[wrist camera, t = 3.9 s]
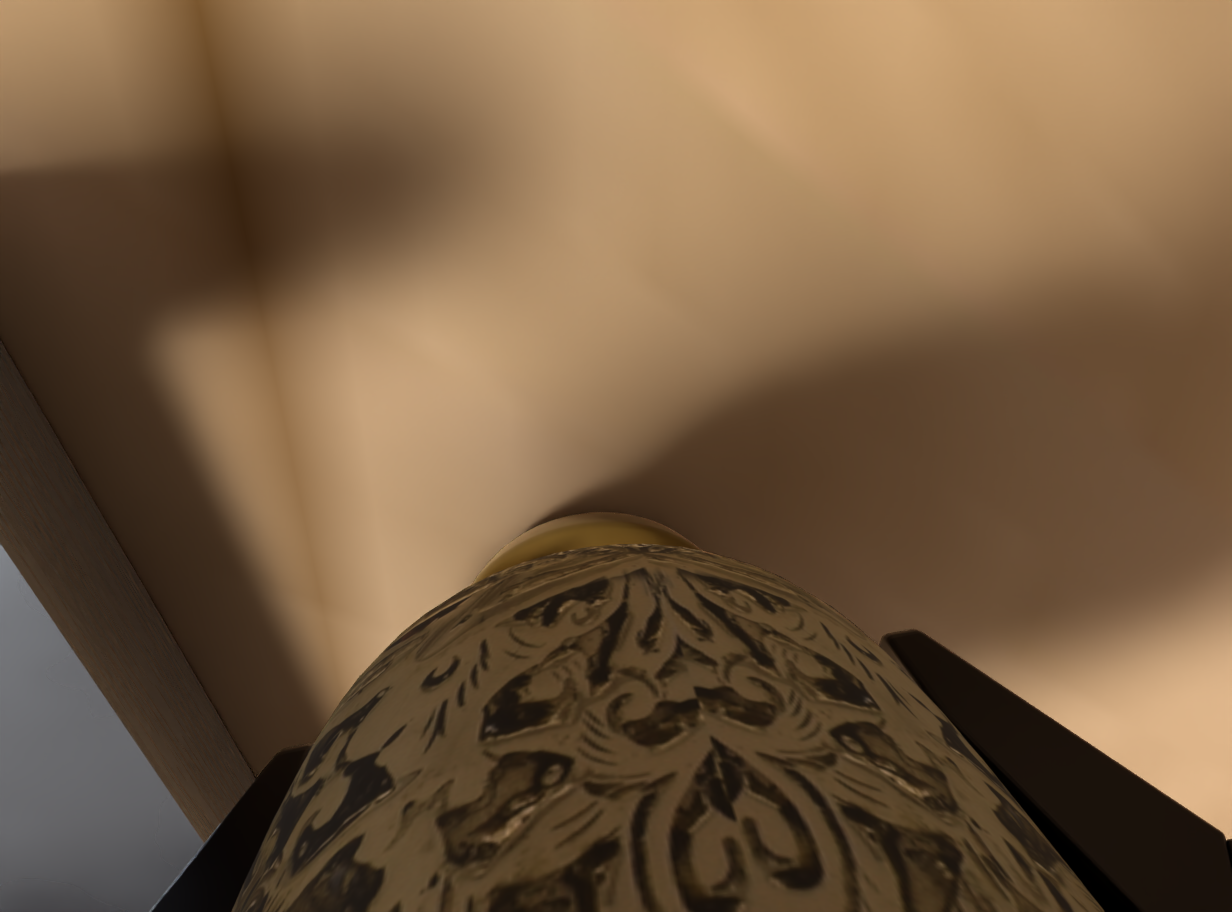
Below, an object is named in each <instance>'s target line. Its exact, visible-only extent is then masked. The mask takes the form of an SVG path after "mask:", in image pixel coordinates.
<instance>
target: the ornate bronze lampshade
mask: <svg viewBox="0 0 1232 912" xmlns="http://www.w3.org/2000/svg"><path fill="white" fill-rule="evenodd" d="M231 912H1105V911H1104V910H1103V909H1102V907H1101V906H1100V905H1099V904H1098V902H1097V901H1096V900H1095V898H1094V897H1093V896H1092V895H1091V893H1090V892H1089V891H1088V890H1087V888H1086V887H1085V886H1084V885H1083V883H1082V882H1081V881H1080V880H1079V878H1078V877H1077V876H1076V875H1075V873H1074V872H1073V871H1072V870H1071V868H1070V867H1069V866H1068V865H1067V863H1066V862H1065V861H1064V860H1063V858H1062V857H1061V856H1060V855H1059V853H1058V852H1057V851H1056V850H1055V848H1054V847H1053V846H1052V845H1051V843H1050V842H1049V841H1048V840H1047V838H1046V837H1045V836H1044V835H1043V833H1042V832H1041V831H1040V830H1039V828H1038V827H1037V826H1036V825H1035V823H1034V822H1033V821H1032V820H1031V818H1030V817H1029V816H1028V815H1027V814H1026V812H1025V811H1024V810H1023V809H1022V807H1021V806H1020V805H1019V804H1018V802H1017V801H1016V800H1015V799H1014V797H1013V796H1012V795H1011V794H1010V792H1009V791H1008V790H1007V789H1006V788H1005V786H1004V785H1003V784H1002V783H1001V781H1000V780H999V779H998V778H997V776H996V775H995V774H994V773H993V771H992V770H991V769H990V768H989V767H988V765H987V764H986V763H985V762H984V760H983V759H982V758H981V757H980V756H979V755H978V753H977V752H976V751H975V750H974V749H973V747H972V746H971V745H970V744H969V743H968V742H967V740H966V739H965V738H964V737H963V736H962V735H961V733H960V732H959V731H958V730H957V729H956V727H955V726H954V725H953V724H952V723H951V722H950V720H949V719H948V718H947V717H946V716H945V715H944V713H943V712H942V711H941V710H940V709H939V708H938V707H937V706H936V705H935V704H934V703H933V701H932V700H931V699H930V698H929V697H928V696H927V695H926V694H925V693H924V692H923V691H922V690H921V689H920V688H919V687H918V685H917V684H916V683H915V682H914V681H913V680H912V679H911V678H910V677H909V676H908V675H907V674H906V673H905V672H904V671H903V670H902V669H901V667H900V666H899V665H898V664H897V663H896V662H895V661H894V660H893V659H892V658H891V657H890V656H889V655H888V654H887V653H886V652H885V651H884V650H883V649H882V648H880V647H879V646H878V645H877V644H876V643H875V642H874V641H873V640H871V639H870V638H869V637H868V636H867V635H866V634H865V633H864V632H862V631H861V630H860V629H859V628H858V627H857V626H856V625H855V624H853V623H852V622H851V621H850V620H848V619H847V618H846V617H844V616H843V615H842V614H840V613H839V612H838V611H836V610H835V609H834V608H833V607H831V606H830V605H828V604H826V603H825V602H823V601H821V600H820V599H818V598H816V597H815V596H813V595H811V594H810V593H808V592H806V591H805V590H803V589H801V588H799V587H798V586H796V585H794V584H793V583H791V582H789V581H787V580H786V579H784V578H782V577H780V576H778V575H775V574H773V573H771V572H768V571H766V570H764V569H761V568H759V567H756V566H754V565H751V564H747V563H744V562H741V561H737V560H734V559H730V558H727V557H724V556H720V555H717V554H713V553H710V552H705V551H702V550H701V549H700V548H699V547H697V546H696V545H695V544H693V543H692V542H691V541H689V540H688V539H686V538H685V537H684V536H682V535H681V534H679V533H677V532H676V531H674V530H672V529H670V528H669V527H667V526H665V525H662V524H660V523H658V522H655V521H653V520H650V519H647V518H643V517H640V516H635V515H630V514H625V513H615V512H590V513H580V514H574V515H569V516H565V517H561V518H558V519H554V520H551V521H549V522H546V523H543V524H541V525H538V526H536V527H534V528H532V529H530V530H528V531H526V532H525V533H523V534H522V535H520V536H518V537H517V538H515V539H514V540H512V541H511V542H510V543H509V544H507V545H506V546H505V547H504V548H502V549H501V550H500V551H499V552H498V553H497V554H496V555H495V556H494V557H493V558H492V559H491V560H490V561H489V562H488V563H487V565H486V566H485V567H484V569H483V570H482V571H481V572H480V574H479V575H478V576H477V577H476V579H475V580H474V581H473V583H472V584H471V586H469V587H467V588H465V589H464V590H462V591H461V592H459V593H457V594H456V595H454V596H453V597H451V598H450V599H448V600H446V601H445V602H443V603H442V604H440V605H439V606H437V607H435V608H434V609H432V610H431V611H429V612H428V613H426V614H425V615H423V616H422V617H421V618H420V619H418V620H417V621H416V622H415V623H413V624H412V625H411V626H410V627H408V628H407V629H406V630H405V631H403V632H402V633H401V634H400V635H399V636H398V637H397V638H396V639H395V640H394V641H393V642H392V643H391V644H390V645H389V646H388V647H387V648H386V649H385V650H384V651H383V652H382V653H381V654H380V655H379V657H378V658H377V659H376V660H375V661H374V662H373V663H372V664H371V665H370V666H369V667H368V668H367V669H366V670H365V672H364V673H363V674H362V675H361V676H360V677H359V678H358V679H357V681H356V682H355V683H354V685H353V686H352V687H351V689H350V690H349V691H348V693H347V694H346V695H345V696H344V698H343V699H342V700H341V702H340V703H339V705H338V706H337V708H336V710H335V711H334V713H333V714H332V716H331V717H330V719H329V720H328V722H327V723H326V725H325V727H324V728H323V730H322V731H321V733H320V734H319V736H318V737H317V739H316V741H315V742H314V744H313V746H312V748H311V750H310V751H309V753H308V755H307V757H306V759H305V760H304V762H303V764H302V766H301V768H300V770H299V772H298V773H297V775H296V777H295V779H294V781H293V783H292V785H291V787H290V789H289V791H288V793H287V794H286V796H285V798H284V800H283V802H282V804H281V806H280V808H279V810H278V812H277V813H276V815H275V817H274V819H273V821H272V824H271V826H270V828H269V830H268V832H267V834H266V836H265V839H264V841H263V843H262V845H261V847H260V849H259V852H258V854H257V856H256V858H255V860H254V862H253V864H252V867H251V869H250V871H249V873H248V875H247V877H246V879H245V882H244V884H243V886H242V888H241V891H240V893H239V895H238V898H237V900H236V902H235V904H234V907H233V909H232V911H231Z"/></svg>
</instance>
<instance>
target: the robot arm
mask: <svg viewBox="0 0 1232 912" xmlns="http://www.w3.org/2000/svg"><path fill="white" fill-rule="evenodd" d="M880 648H882V649H883V650H884V651H885V652H886V653H887V654H888V655H889V656H890V657H891V658H892V659H893V660H894V661H895V662H896V663H897V664H898V665H899V666H900V667H901V669H902V670H903V671H904V672H905V673H906V674H907V675H908V676H909V677H910V678H911V679H912V680H913V681H914V682H915V683H916V684H917V685H918V687H919V688H920V689H921V690H922V691H923V692H924V693H925V694H926V695H927V696H928V697H929V698H930V699H931V700H932V701H933V703H934V704H935V705H936V706H937V707H938V708H939V709H940V710H941V711H942V712H943V713H944V715H945V716H946V717H947V718H948V719H949V720H950V722H951V723H952V724H953V725H954V726H955V727H956V729H957V730H958V731H959V732H960V733H961V735H962V736H963V737H964V738H965V739H966V740H967V742H968V743H969V744H970V745H971V746H972V747H973V749H974V750H975V751H976V752H977V753H978V755H979V756H980V757H981V758H982V759H983V760H984V762H985V763H986V764H987V765H988V767H989V768H990V769H991V770H992V771H993V773H994V774H995V775H996V776H997V778H998V779H999V780H1000V781H1001V783H1002V784H1003V785H1004V786H1005V788H1006V789H1007V790H1008V791H1009V792H1010V794H1011V795H1012V796H1013V797H1014V799H1015V800H1016V801H1017V802H1018V804H1019V805H1020V806H1021V807H1022V809H1023V810H1024V811H1025V812H1026V814H1027V815H1028V816H1029V817H1030V818H1031V820H1032V821H1033V822H1034V823H1035V825H1036V826H1037V827H1038V828H1039V830H1040V831H1041V832H1042V833H1043V835H1044V836H1045V837H1046V838H1047V840H1048V841H1049V842H1050V843H1051V845H1052V846H1053V847H1054V848H1055V850H1056V851H1057V852H1058V853H1059V855H1060V856H1061V857H1062V858H1063V860H1064V861H1065V862H1066V863H1067V865H1068V866H1069V867H1070V868H1071V870H1072V871H1073V872H1074V873H1075V875H1076V876H1077V877H1078V878H1079V880H1080V881H1081V882H1082V883H1083V885H1084V886H1085V887H1086V888H1087V890H1088V891H1089V892H1090V893H1091V895H1092V896H1093V897H1094V898H1095V900H1096V901H1097V902H1098V904H1099V905H1100V906H1101V907H1102V909H1103V910H1104V911H1105V912H1232V839H1228V840H1226V838H1225V835H1224V834H1223V833H1222V832H1221V831H1220V830H1218V829H1217V828H1215V827H1214V826H1212V825H1211V824H1209V823H1208V822H1206V821H1205V820H1203V819H1202V818H1200V817H1199V816H1197V815H1196V814H1194V813H1193V812H1191V811H1190V810H1188V809H1187V808H1185V807H1184V806H1182V805H1181V804H1179V803H1178V802H1176V801H1175V800H1173V799H1172V798H1170V797H1169V796H1167V795H1166V794H1164V793H1163V792H1161V791H1160V790H1158V789H1157V788H1155V787H1154V786H1152V785H1151V784H1149V783H1148V782H1146V781H1145V780H1143V779H1142V778H1140V777H1139V776H1137V775H1136V774H1134V773H1133V772H1131V771H1130V770H1128V769H1127V768H1125V767H1124V766H1122V765H1121V764H1119V763H1118V762H1116V761H1115V760H1113V759H1112V758H1110V757H1109V756H1107V755H1106V754H1104V753H1103V752H1101V751H1100V750H1098V749H1097V748H1095V747H1094V746H1092V745H1091V744H1089V743H1088V742H1086V741H1085V740H1083V739H1082V738H1080V737H1079V736H1077V735H1076V734H1074V733H1073V732H1071V731H1070V730H1068V729H1067V728H1065V727H1064V726H1062V725H1061V724H1059V723H1058V722H1056V721H1055V720H1053V719H1052V718H1050V717H1049V716H1047V715H1046V714H1044V713H1043V712H1041V711H1040V710H1038V709H1037V708H1035V707H1034V706H1032V705H1031V704H1029V703H1028V702H1026V701H1025V700H1023V699H1022V698H1020V697H1019V696H1017V695H1016V694H1014V693H1013V692H1011V691H1010V690H1008V689H1007V688H1005V687H1004V686H1002V685H1001V684H999V683H998V682H996V681H995V680H993V679H992V678H990V677H989V676H987V675H986V674H984V673H983V672H981V671H980V670H978V669H977V668H975V667H974V666H972V665H971V664H969V663H968V662H966V661H965V660H963V659H962V658H960V657H959V656H957V655H956V654H954V653H953V652H951V651H950V650H948V649H947V648H946V647H944V646H943V645H941V644H940V643H938V642H937V641H935V640H934V639H932V638H931V637H929V636H928V635H926V634H925V633H923V632H921V631H919V630H915V629H910V630H904V631H899V632H894V633H888V634H886V635H884V636H883V637H882V639H881V641H880ZM313 744H314V743H309V744H304V745H298V746H293V747H288V748H285V749H283V750H281V751H280V752H278V753H277V754H276V755H275V756H274V757H273V759H272V760H271V761H270V762H269V764H268V765H267V766H266V767H265V769H264V770H263V771H262V772H261V774H260V775H259V776H258V777H257V779H256V780H255V781H254V782H253V783H252V785H251V786H250V787H249V788H248V790H247V791H246V792H245V793H244V795H243V796H242V797H241V798H240V800H239V801H238V802H237V803H236V805H235V806H234V807H233V808H232V809H231V811H230V812H229V813H228V814H227V816H226V817H225V818H224V819H223V821H222V822H221V823H220V824H219V826H218V827H217V828H216V829H215V831H214V832H213V833H212V834H211V835H210V837H209V838H208V839H207V840H206V842H205V843H204V844H203V845H202V847H201V848H200V849H199V850H198V852H197V853H196V854H195V855H194V856H193V858H192V859H191V860H190V861H189V863H188V864H187V865H186V866H185V868H184V869H183V870H182V871H181V873H180V874H179V875H178V876H177V878H176V879H175V880H174V881H173V882H172V884H171V885H170V886H169V887H168V889H167V890H166V891H165V892H164V894H163V895H162V896H161V897H160V899H159V900H158V901H157V902H156V904H155V905H154V906H153V907H152V908H151V910H150V911H149V912H231V911H232V909H233V907H234V904H235V902H236V900H237V898H238V895H239V893H240V891H241V888H242V886H243V884H244V882H245V879H246V877H247V875H248V873H249V871H250V869H251V867H252V864H253V862H254V860H255V858H256V856H257V854H258V852H259V849H260V847H261V845H262V843H263V841H264V839H265V836H266V834H267V832H268V830H269V828H270V826H271V824H272V821H273V819H274V817H275V815H276V813H277V812H278V810H279V808H280V806H281V804H282V802H283V800H284V798H285V796H286V794H287V793H288V791H289V789H290V787H291V785H292V783H293V781H294V779H295V777H296V775H297V773H298V772H299V770H300V768H301V766H302V764H303V762H304V760H305V759H306V757H307V755H308V753H309V751H310V750H311V748H312V746H313Z"/></svg>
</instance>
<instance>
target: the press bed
mask: <svg viewBox="0 0 1232 912" xmlns="http://www.w3.org/2000/svg"><path fill="white" fill-rule="evenodd" d="M255 780H256V779H255V777H254V775H253V773H252V772H251V770H250V768H249V767H248V765H247V763H246V761H245V760H244V758H243V756H242V755H241V753H240V751H239V749H238V748H237V746H236V744H235V743H234V741H233V739H232V737H231V736H230V734H229V732H228V730H227V729H226V727H225V725H224V724H223V722H222V720H221V718H220V717H219V715H218V713H217V712H216V710H215V708H214V706H213V705H212V703H211V701H210V700H209V698H208V696H207V694H206V693H205V691H204V689H203V688H202V686H201V684H200V682H199V681H198V679H197V677H196V675H195V674H194V672H193V670H192V669H191V667H190V665H189V663H188V662H187V660H186V658H185V657H184V655H183V653H182V651H181V650H180V648H179V646H178V645H177V643H176V641H175V639H174V638H173V636H172V634H171V632H170V631H169V629H168V627H167V626H166V624H165V622H164V620H163V619H162V617H161V615H160V614H159V612H158V610H157V608H156V607H155V605H154V603H153V602H152V600H151V598H150V596H149V595H148V593H147V591H146V590H145V588H144V586H143V584H142V583H141V581H140V579H139V577H138V576H137V574H136V572H135V571H134V569H133V567H132V565H131V564H130V562H129V560H128V559H127V557H126V555H125V553H124V552H123V550H122V548H121V547H120V545H119V543H118V541H117V540H116V538H115V536H114V534H113V533H112V531H111V529H110V528H109V526H108V524H107V522H106V521H105V519H104V517H103V516H102V514H101V512H100V510H99V509H98V507H97V505H96V504H95V502H94V500H93V498H92V497H91V495H90V493H89V492H88V490H87V488H86V486H85V485H84V483H83V481H82V479H81V478H80V476H79V474H78V473H77V471H76V469H75V467H74V466H73V464H72V462H71V461H70V459H69V457H68V455H67V454H66V452H65V450H64V449H63V447H62V445H61V443H60V442H59V440H58V438H57V436H56V435H55V433H54V431H53V430H52V428H51V426H50V424H49V423H48V421H47V419H46V418H45V416H44V414H43V412H42V411H41V409H40V407H39V406H38V404H37V402H36V400H35V399H34V397H33V395H32V394H31V392H30V390H29V388H28V387H27V385H26V383H25V381H24V380H23V378H22V376H21V375H20V373H19V371H18V369H17V368H16V366H15V364H14V363H13V361H12V359H11V357H10V356H9V354H8V352H7V351H6V349H5V347H4V345H3V344H2V342H1V340H0V912H149V911H150V910H151V908H152V907H153V906H154V905H155V904H156V902H157V901H158V900H159V899H160V897H161V896H162V895H163V894H164V892H165V891H166V890H167V889H168V887H169V886H170V885H171V884H172V882H173V881H174V880H175V879H176V878H177V876H178V875H179V874H180V873H181V871H182V870H183V869H184V868H185V866H186V865H187V864H188V863H189V861H190V860H191V859H192V858H193V856H194V855H195V854H196V853H197V852H198V850H199V849H200V848H201V847H202V845H203V844H204V843H205V842H206V840H207V839H208V838H209V837H210V835H211V834H212V833H213V832H214V831H215V829H216V828H217V827H218V826H219V824H220V823H221V822H222V821H223V819H224V818H225V817H226V816H227V814H228V813H229V812H230V811H231V809H232V808H233V807H234V806H235V805H236V803H237V802H238V801H239V800H240V798H241V797H242V796H243V795H244V793H245V792H246V791H247V790H248V788H249V787H250V786H251V785H252V783H253V782H254V781H255Z"/></svg>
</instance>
